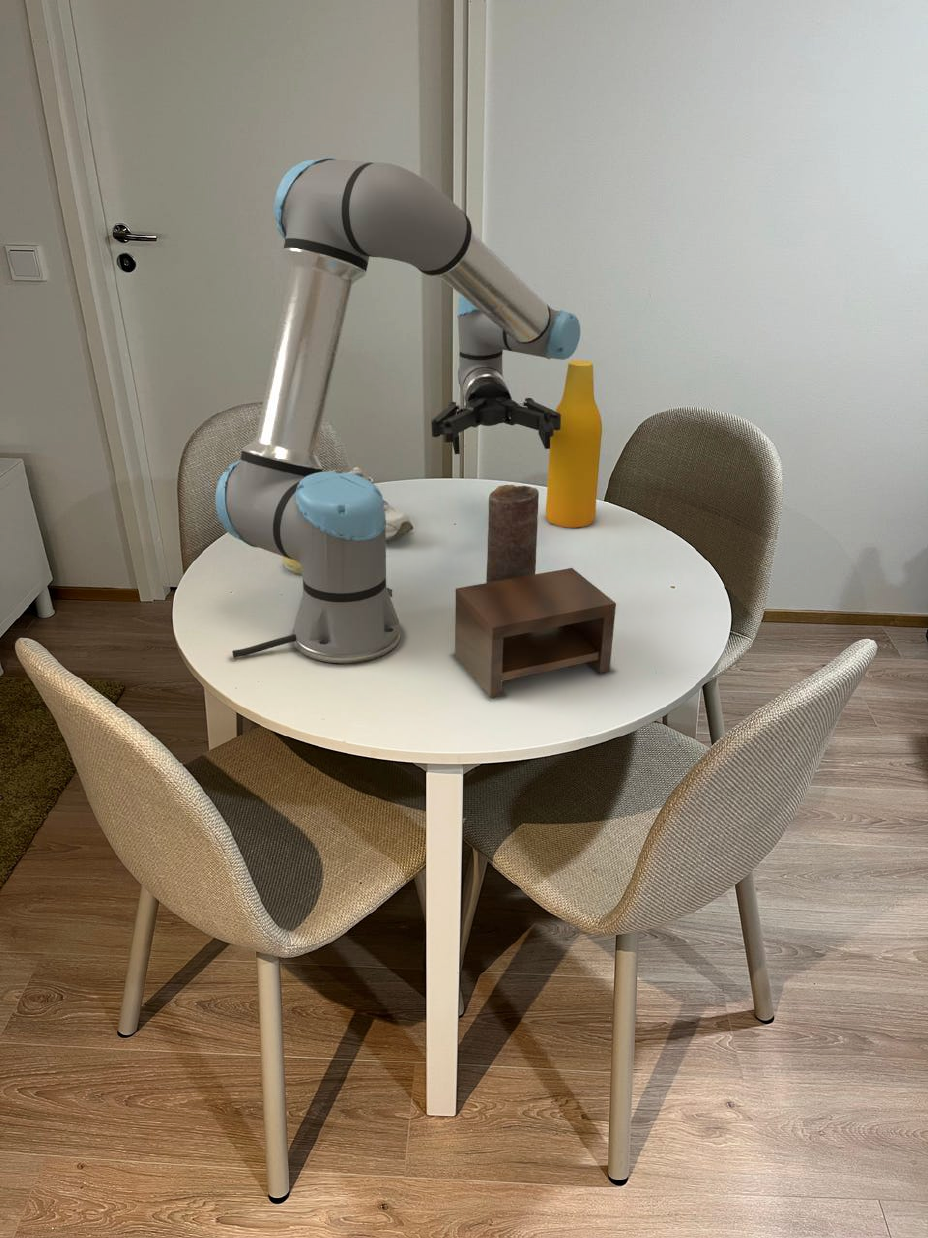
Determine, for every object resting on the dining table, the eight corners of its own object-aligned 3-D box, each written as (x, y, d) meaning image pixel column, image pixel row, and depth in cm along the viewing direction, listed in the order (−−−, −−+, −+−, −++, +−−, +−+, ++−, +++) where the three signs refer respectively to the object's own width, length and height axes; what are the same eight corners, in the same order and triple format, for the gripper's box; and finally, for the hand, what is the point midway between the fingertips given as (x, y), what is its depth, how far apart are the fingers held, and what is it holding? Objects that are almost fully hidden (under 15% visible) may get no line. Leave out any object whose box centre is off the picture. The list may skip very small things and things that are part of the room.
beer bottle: (582, 532, 177) (594, 371, 164) (536, 522, 181) (544, 364, 168) (602, 516, 184) (616, 361, 171) (558, 506, 188) (567, 354, 175)
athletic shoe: (392, 552, 168) (400, 483, 164) (297, 522, 180) (303, 457, 177) (428, 547, 176) (437, 481, 172) (335, 518, 188) (341, 456, 185)
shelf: (490, 698, 128) (492, 627, 123) (454, 655, 138) (455, 588, 133) (609, 671, 134) (616, 603, 129) (567, 632, 144) (572, 567, 139)
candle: (518, 630, 144) (523, 502, 135) (475, 617, 148) (478, 492, 138) (542, 610, 150) (549, 486, 141) (501, 598, 154) (505, 476, 144)
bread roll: (276, 562, 164) (274, 540, 162) (326, 551, 168) (325, 530, 166) (295, 581, 158) (293, 558, 156) (346, 569, 162) (345, 547, 160)
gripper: (560, 414, 167) (584, 461, 149) (413, 423, 165) (420, 471, 147) (561, 371, 163) (586, 413, 145) (411, 379, 161) (417, 423, 143)
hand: (502, 443), depth 146 cm, fingers open, 13 cm apart
